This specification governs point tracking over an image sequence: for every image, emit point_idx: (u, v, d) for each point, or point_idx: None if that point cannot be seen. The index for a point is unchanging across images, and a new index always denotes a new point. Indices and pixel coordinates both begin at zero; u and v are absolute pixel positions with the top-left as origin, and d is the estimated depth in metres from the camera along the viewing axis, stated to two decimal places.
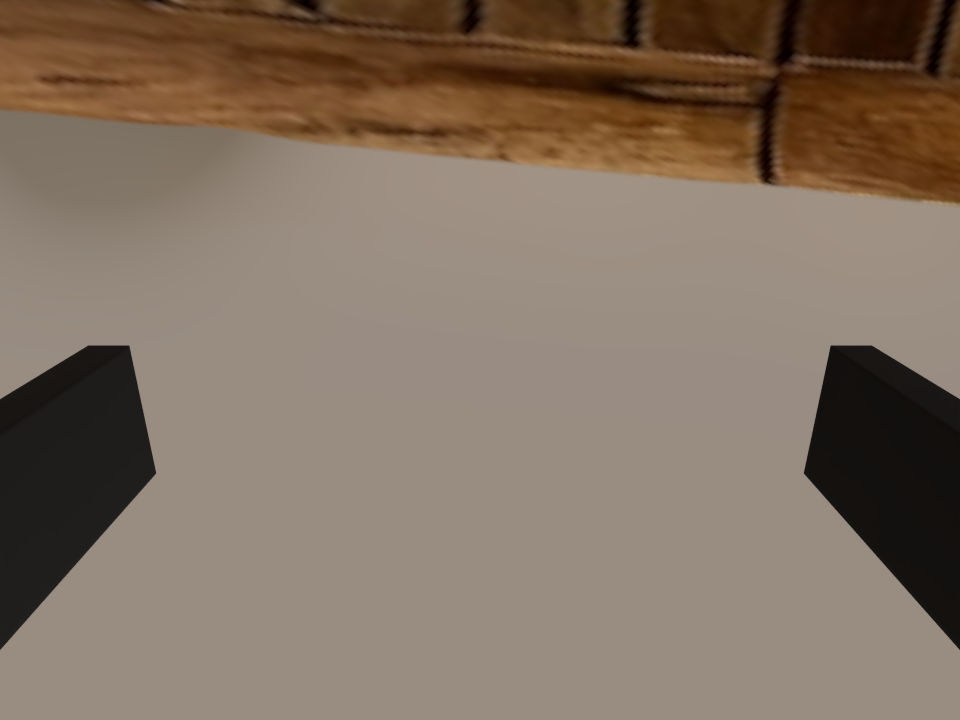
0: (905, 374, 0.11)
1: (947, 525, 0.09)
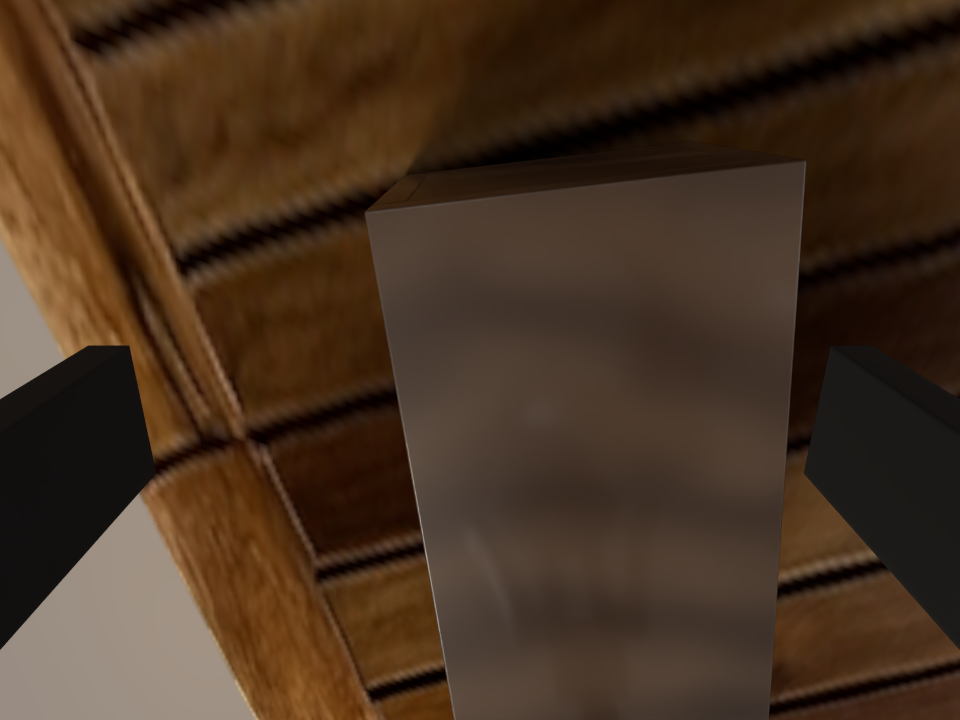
0: (905, 374, 0.11)
1: (947, 525, 0.09)
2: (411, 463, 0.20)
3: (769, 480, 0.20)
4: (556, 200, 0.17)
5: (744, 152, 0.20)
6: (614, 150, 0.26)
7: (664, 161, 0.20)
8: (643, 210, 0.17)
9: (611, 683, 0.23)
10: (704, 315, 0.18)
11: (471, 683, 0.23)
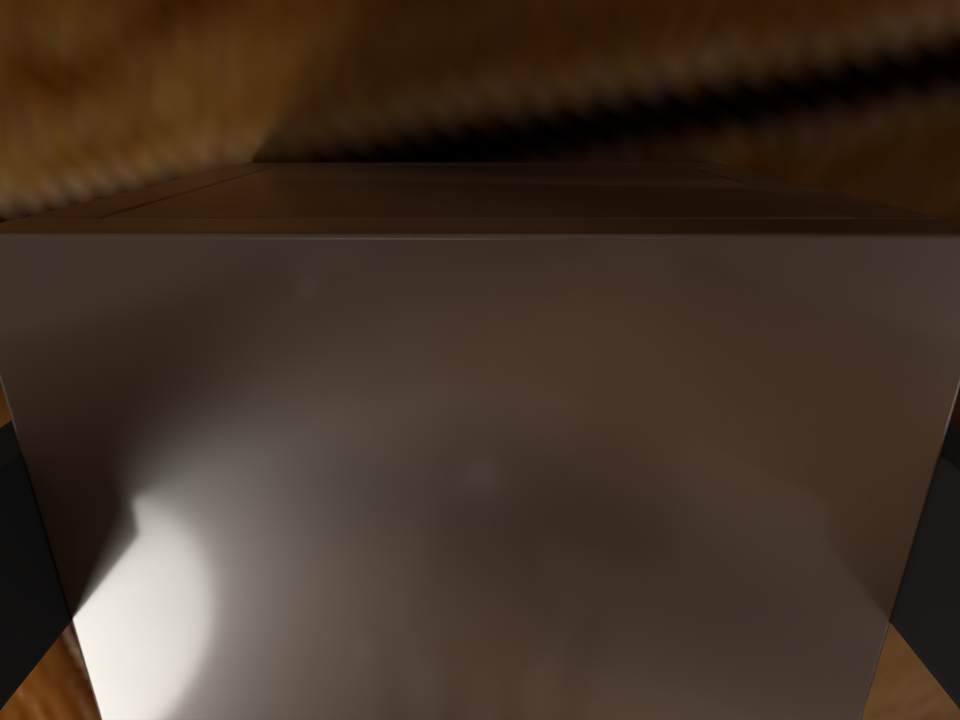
0: None
1: None
2: None
3: None
4: (416, 259, 0.07)
5: (826, 194, 0.10)
6: (589, 162, 0.16)
7: (671, 193, 0.10)
8: (617, 305, 0.07)
9: None
10: (723, 532, 0.09)
11: None
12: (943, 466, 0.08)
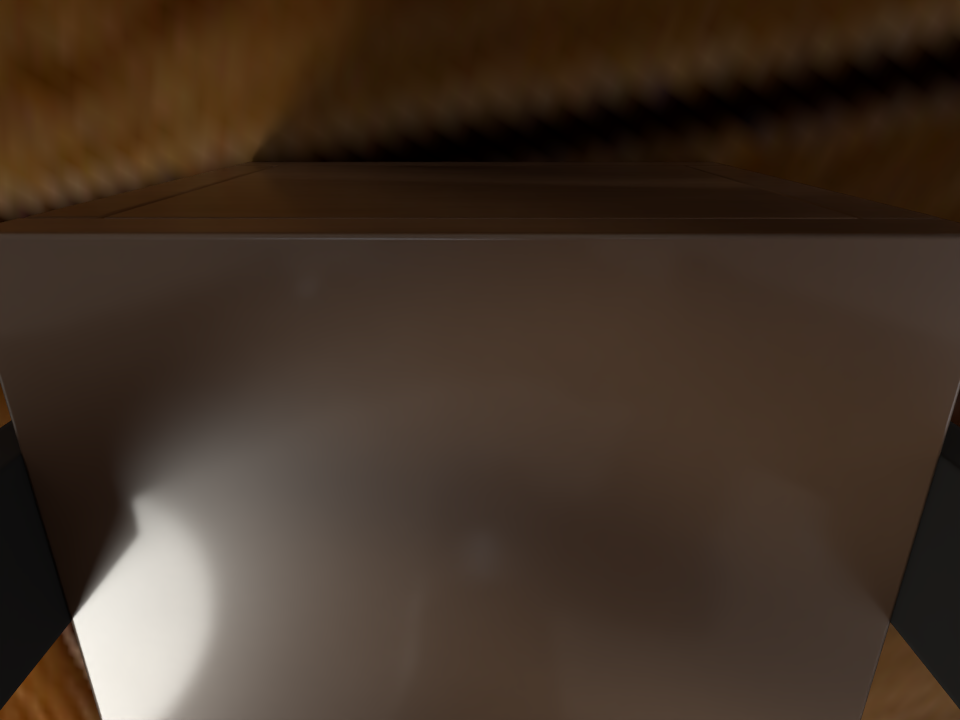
0: None
1: None
2: None
3: None
4: (416, 260, 0.07)
5: (827, 194, 0.10)
6: (589, 162, 0.16)
7: (671, 193, 0.10)
8: (617, 305, 0.07)
9: None
10: (723, 532, 0.09)
11: None
12: (943, 466, 0.08)
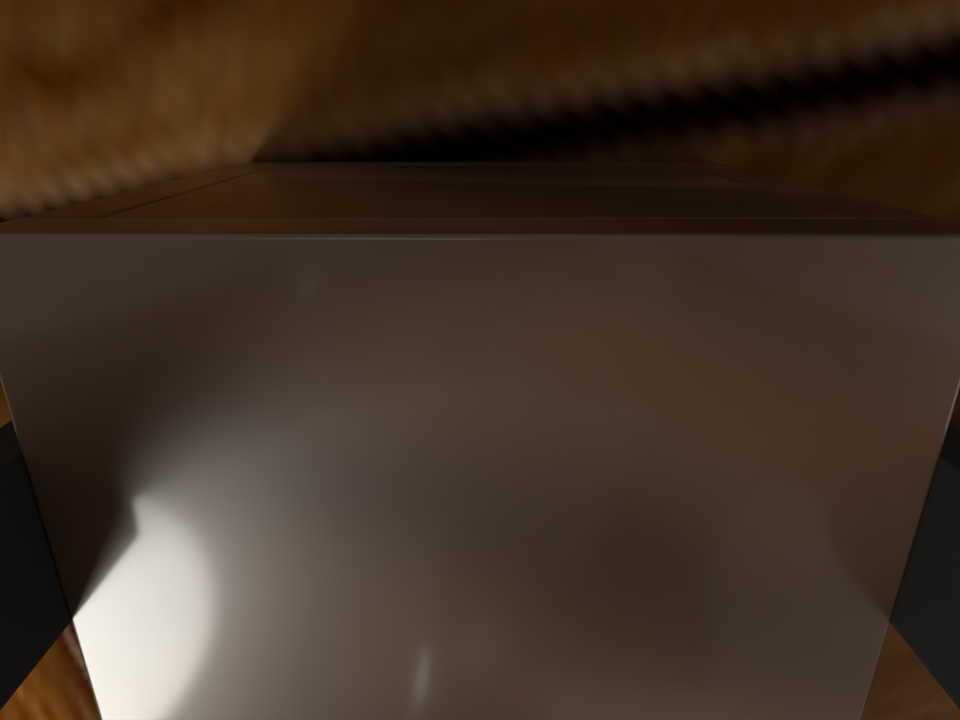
0: None
1: None
2: None
3: None
4: (416, 260, 0.07)
5: (826, 194, 0.10)
6: (589, 162, 0.16)
7: (671, 193, 0.10)
8: (617, 305, 0.07)
9: None
10: (723, 532, 0.09)
11: None
12: (943, 466, 0.08)
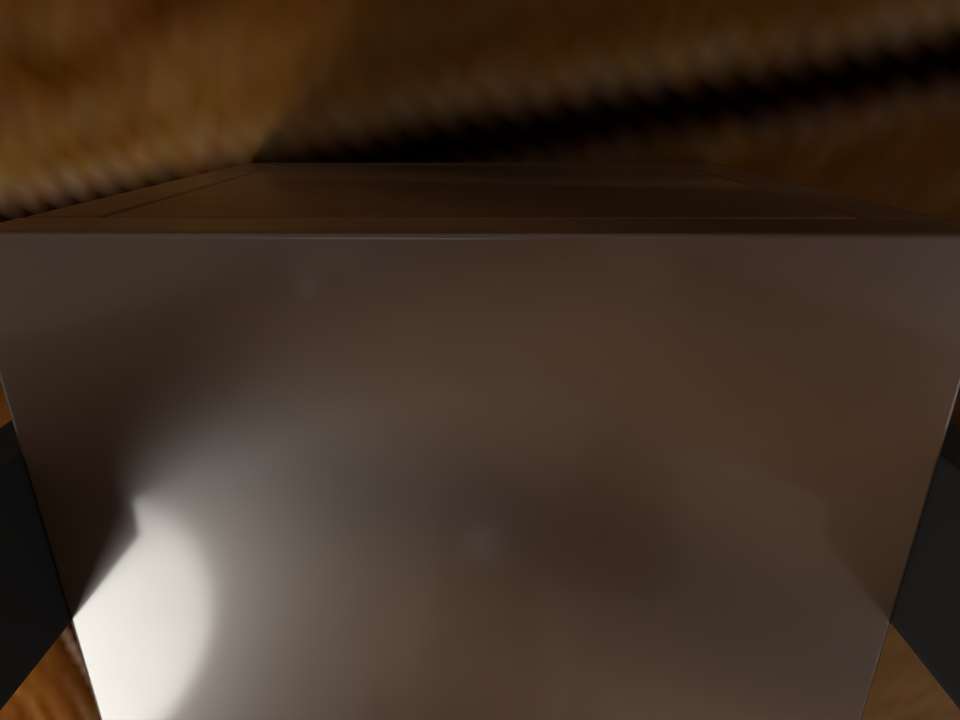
0: None
1: None
2: None
3: None
4: (417, 259, 0.07)
5: (826, 194, 0.10)
6: None
7: (671, 193, 0.10)
8: (617, 304, 0.07)
9: None
10: (723, 532, 0.09)
11: None
12: (943, 466, 0.08)
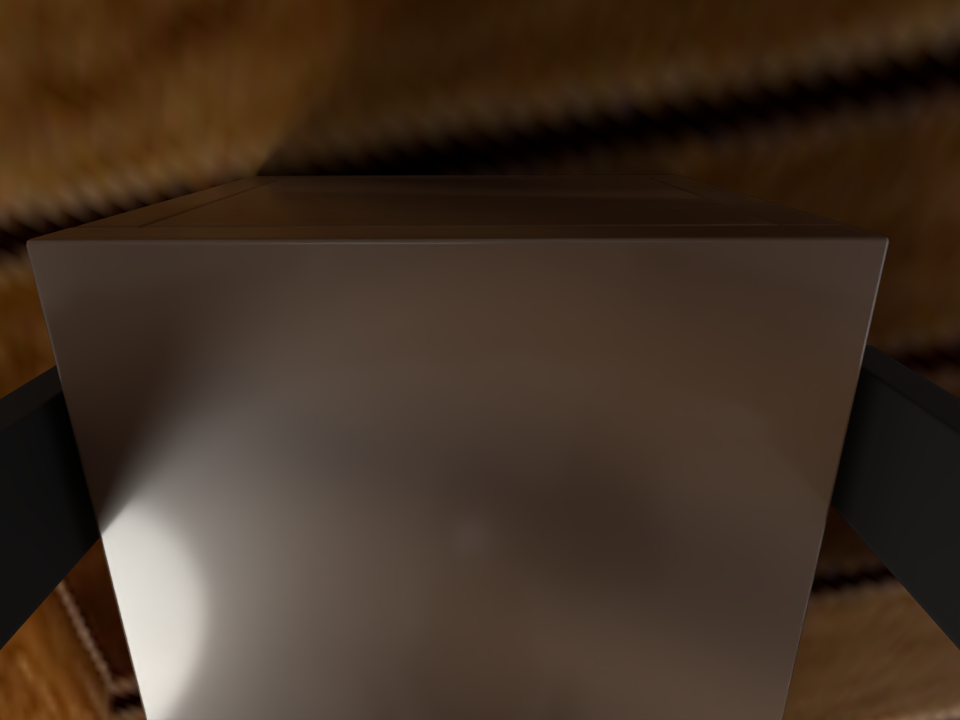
0: (905, 374, 0.11)
1: (947, 525, 0.09)
2: (139, 682, 0.11)
3: None
4: (407, 261, 0.09)
5: (762, 204, 0.12)
6: (564, 175, 0.17)
7: (629, 204, 0.12)
8: (575, 297, 0.09)
9: None
10: (670, 491, 0.10)
11: None
12: None
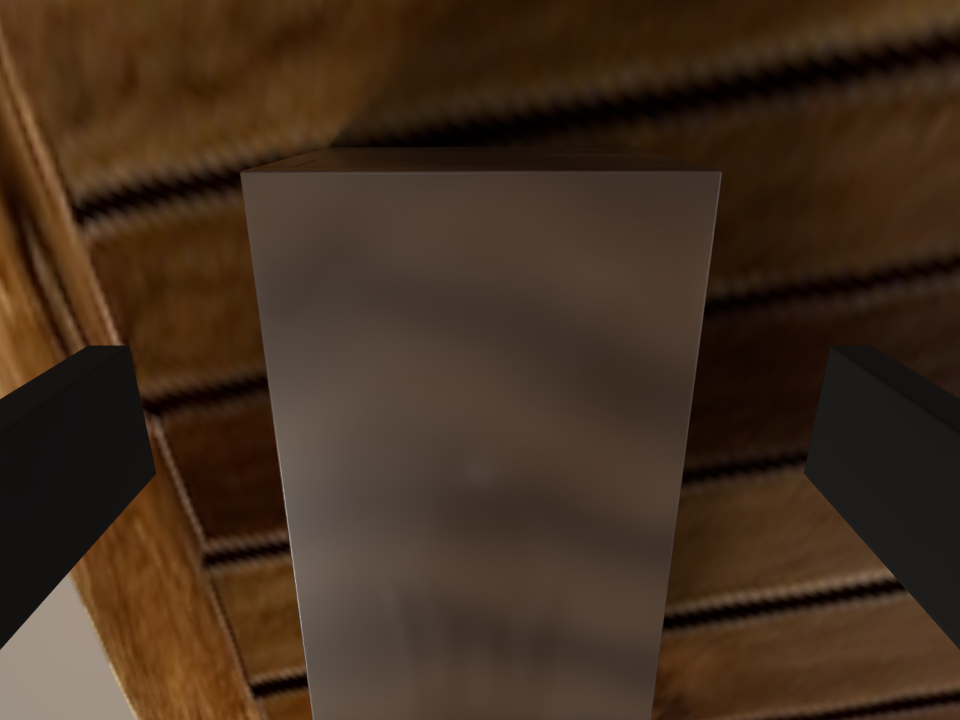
0: (905, 374, 0.11)
1: (947, 525, 0.09)
2: (279, 454, 0.18)
3: (661, 509, 0.19)
4: (451, 183, 0.16)
5: (670, 159, 0.18)
6: (551, 147, 0.24)
7: (586, 159, 0.19)
8: (545, 205, 0.16)
9: (483, 707, 0.22)
10: (604, 326, 0.17)
11: (334, 695, 0.22)
12: None
